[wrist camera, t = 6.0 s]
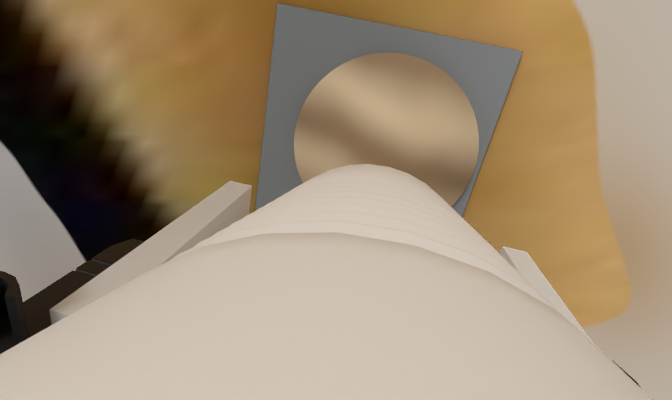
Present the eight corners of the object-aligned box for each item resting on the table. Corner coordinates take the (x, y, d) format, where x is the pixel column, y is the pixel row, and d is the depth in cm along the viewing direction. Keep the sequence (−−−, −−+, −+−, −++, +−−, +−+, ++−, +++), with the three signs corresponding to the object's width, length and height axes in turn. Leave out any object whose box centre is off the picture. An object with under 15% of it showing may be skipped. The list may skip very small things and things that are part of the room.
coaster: (310, 35, 23) (308, 34, 22) (505, 74, 22) (508, 74, 22) (285, 209, 28) (283, 212, 27) (444, 247, 27) (445, 250, 26)
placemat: (279, 3, 23) (277, 3, 23) (520, 51, 22) (522, 51, 21) (253, 237, 30) (252, 239, 29) (436, 282, 29) (437, 284, 28)
